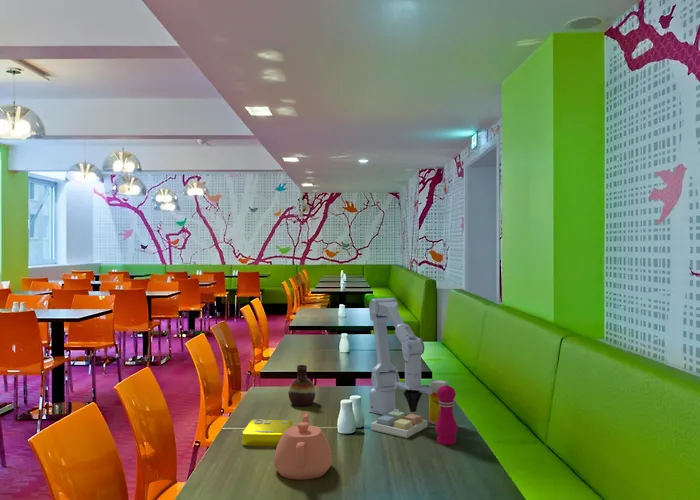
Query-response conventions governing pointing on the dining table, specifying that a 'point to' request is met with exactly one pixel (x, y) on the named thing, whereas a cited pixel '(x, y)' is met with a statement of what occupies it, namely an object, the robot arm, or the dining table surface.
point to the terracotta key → (414, 418)
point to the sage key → (397, 415)
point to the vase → (302, 388)
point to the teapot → (303, 452)
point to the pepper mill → (446, 416)
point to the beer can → (434, 401)
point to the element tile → (264, 432)
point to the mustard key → (403, 424)
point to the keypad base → (397, 431)
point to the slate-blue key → (386, 420)
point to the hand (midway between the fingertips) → (413, 411)
